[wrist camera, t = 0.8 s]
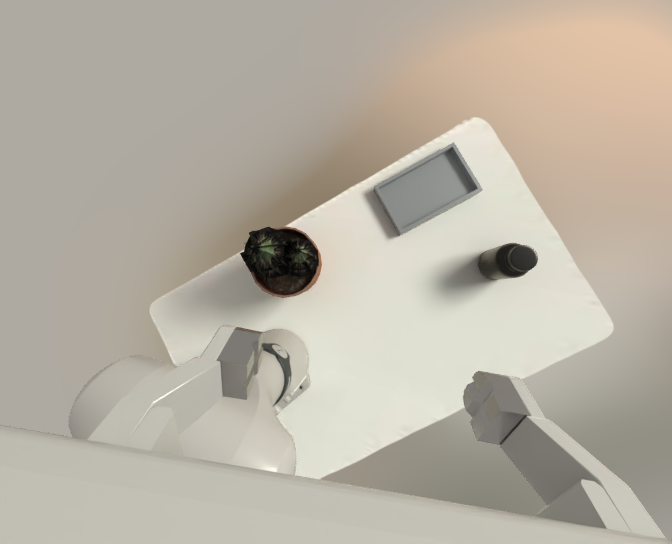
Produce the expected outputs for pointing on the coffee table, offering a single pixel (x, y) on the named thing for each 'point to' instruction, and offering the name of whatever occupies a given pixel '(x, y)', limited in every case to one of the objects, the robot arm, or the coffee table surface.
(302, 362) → the robot arm
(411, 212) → the grey serving tray
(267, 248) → the potted plant
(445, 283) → the coffee table surface
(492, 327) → the coffee table surface
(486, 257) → the supplement bottle
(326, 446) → the coffee table surface
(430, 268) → the coffee table surface
